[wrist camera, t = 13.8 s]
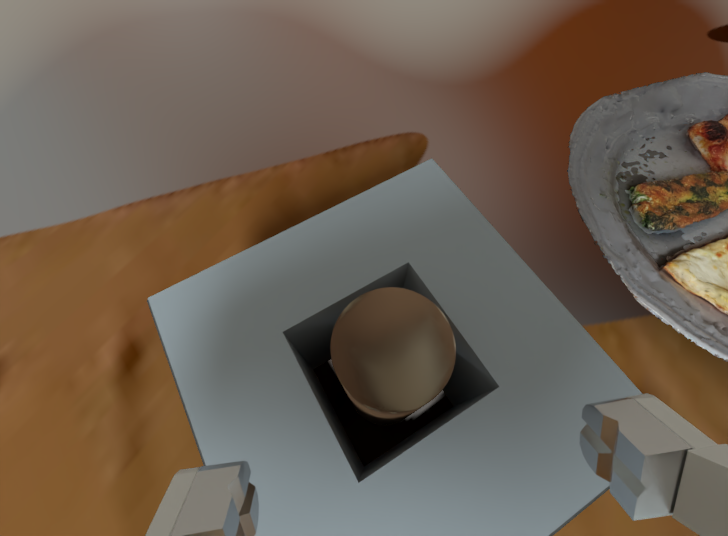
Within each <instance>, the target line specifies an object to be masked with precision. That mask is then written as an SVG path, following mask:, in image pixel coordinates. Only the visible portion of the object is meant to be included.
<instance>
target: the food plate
mask: <svg viewBox="0 0 728 536" xmlns="http://www.w3.org/2000/svg"><path fill="white" fill-rule="evenodd" d="M570 138H571V139H570V141H569V148H570V151H571V152H570V153H571V154H570V156H569V168H568V170H567V172H568V174H569V175H568V176H569V184H570V185H571V187H572V192H573V194H572V195H573V196H574V198H575V201H576V205H577V207H578V208H579V209H578V212H579V214H580V215H581V217H582V220H583V221H584V223H586V226H587V227H588V229H589V231H590V233H591V235H592V237H593V239H594V241H598V243H597V245H599V246H600V250H601V251H602V252H603V253H604V254H605V257H604V255H603V257H604V258H606V259H608V263H610V264H611V265H612V268H613V269H614V270H615V273H616V274H618V275H620V277H621V280H622V281H623V283H625V285H626V286H627V288H628V290H629V291H630V292H631V294H633V297H634V298H635V299H636V300H637V301H638V302H639V304H640V305H642V306H643V307H644V308H645V309H647V310H648V311H650V312H652V314H654V315H656V317H657V318H658V319H661V321H663V322H664V323H666V324H668V325H669V324H670V325H672V327H673V328H675V330H676V331H677V332H678V333H682V334H683V335H685V337H687V339H691V340H692V341H691V342H695V343H696V344H697V345H698V346H700V347H703V349H707V350H708V352H710V353H712V354H713V355H714V356H717V357H718V358H723V359H724V360H725V361H728V76H725V75H715V74H711V73H706V72H704V73H698V74H697V73H696V75H693V74H692V75H689V76H687V77H685V76H683V77H681V78H677V79H672V80H668V81H664V82H663V83H662V82H660V83H659V82H658V83H654V84H651V85H648V86H647V87H646V86H643V87H640V88H639V87H637V88H634V89H632V90H628V91H624V92H621V95H620V94H614V95H613V96H611V95H609V96H604V97H603V98H601V99H600V100H598V101H597V102H595V103H594V104H592V105H591V106H590V107H588V108H587V109H586V111H585V112H583V113H582V114H581V115H580V117H579V118H578V120H577V121H576V123H575V125H574V128H573V131H572V133H571V134H570Z"/></svg>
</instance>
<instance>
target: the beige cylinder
mask: <svg viewBox="0 0 728 536" xmlns="http://www.w3.org/2000/svg"><path fill="white" fill-rule="evenodd" d="M330 348H331V359H332V364H333V367H334V370H335V372H336V374H337V377H338V379H339V381H340V382H341V384H342V386H343V388H344V390H345V392H346V393H347V395H348V397H349V399H350V401H351V403H352V404H353V406H354V408H355V409H356V411H357V412H358V413H359V414H360V415H361V416H362V417H363V418H364V419H366V420H367V421H369V422H371V423H374V424H378V425H392V424H395V423H398V422H400V421H402V420H403V419H405V418H406V417H408V416H409V415H411V414H412V413H414V412H415V411H417V410H418V409H420V408H421V407H422V406H424V405H425V404H427V403H428V402H430V401H431V400H432V399H434V398H435V397H436V396H437V395H438V394H439V393H440V392H441V391H442V390H443V388H444V387H445V386H446V384H447V383H448V381H449V379H450V377H451V374H452V372H453V369H454V364H455V359H456V344H455V338H454V334H453V331H452V328H451V326H450V324H449V322H448V320H447V318H446V317H445V315H444V314H443V313H442V311H441V310H440V309H439V308H438V307H437V306H436V305H435V304H434V303H433V302H432V301H430V300H429V299H428V298H426V297H424V296H423V295H421V294H419V293H417V292H414V291H411V290H408V289H404V288H398V287H386V288H379V289H375V290H372V291H369V292H366V293H364V294H362V295H360V296H359V297H357V298H356V299H354V300H353V301H352V302H351V303H350V304H348V306H347V307H346V308H345V309H344V310H343V311H342V313H341V314H340V316H339V317H338V319H337V321H336V323H335V326H334V329H333V332H332V337H331V345H330Z"/></svg>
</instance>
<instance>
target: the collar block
mask: <svg viewBox="0 0 728 536" xmlns="http://www.w3.org/2000/svg"><path fill="white" fill-rule="evenodd" d="M386 287H398V288H404V289H408V290H411V291H414V292H417V293H419V294H421V295H423V296H424V297H426V298H428V299H429V300H430V301H432V302H433V303H434V304H435V305H436V306H437V307H438V308H439V309H440V310H441V311H442V313H443V314H444V315H445V317H446V318H447V320H448V322H449V324H450V326H451V328H452V331H453V334H454V338H455V344H456V359H455V364H454V369H453V372H452V374H451V377H450V379H449V381H448V383H447V384H446V386H445V387H444V388H443V391H444V393H445V394H446V396H447V397H448V399H449V400H450V402H451V403H452V405H453V407H452V408H450V409H449V410H447V411H446V412H444V413H443V414H441V415H440V416H438V417H437V418H435V419H434V420H432V421H431V422H430V423H428V424H427V425H425V426H424V427H422V428H421V429H419V430H418V431H416V432H415V433H413V434H412V435H410V436H409V437H407V438H406V439H404V440H403V441H401V442H400V443H398V444H397V445H395V446H394V447H393V448H391V449H390V450H388V451H387V452H385V453H384V454H382V455H381V456H379V457H378V458H376V459H375V460H373V461H372V462H370V463H369V464H367V465H366V466H363V464H362V462H361V460H360V459H359V457H358V455H357V453H356V451H355V449H354V447H353V445H352V443H351V441H350V439H349V437H348V435H347V433H346V432H345V430H344V428H343V426H342V424H341V422H340V420H339V418H338V416H337V414H336V412H335V410H334V408H333V406H332V405H331V403H330V401H329V399H328V397H327V395H326V393H325V391H324V389H323V387H322V385H321V383H320V381H319V379H318V378H317V376H316V374H315V372H314V370H313V369H315V368H317V367H318V366H320V365H322V364H323V363H325V362H327V361H328V360H330V359H331V348H330V345H331V337H332V332H333V329H334V326H335V323H336V321H337V319H338V317H339V316H340V314H341V313H342V311H343V310H344V309H345V308H346V307H347V306H348V304H350V303H351V302H352V301H353V300H354V299H356V298H357V297H359V296H360V295H362V294H364V293H366V292H369V291H372V290H375V289H379V288H386ZM147 302H148V305H149V308H150V311H151V314H152V317H153V319H154V322H155V325H156V328H157V331H158V334H159V337H160V340H161V343H162V346H163V348H164V351H165V354H166V357H167V360H168V363H169V366H170V369H171V372H172V375H173V377H174V380H175V383H176V386H177V389H178V392H179V395H180V398H181V401H182V404H183V406H184V409H185V412H186V415H187V418H188V421H189V424H190V427H191V430H192V433H193V435H194V438H195V441H196V444H197V447H198V450H199V453H200V456H201V459H202V462H203V464H204V466H208V465H216V464H223V463H230V462H238V461H247V462H248V464H249V467H250V470H251V475H250V479H249V482H250V483H251V484H253V485H254V486H255V487H256V490H257V494H258V501H259V519H258V525H257V531H256V534H255V535H254V536H553V535H554V534H555V533H556V532H558V531H559V530H560V529H561V528H563V527H564V526H565V525H566V524H567V523H569V522H570V521H571V520H572V519H573V518H575V517H576V516H577V515H578V514H579V513H581V512H582V511H583V510H584V509H586V508H587V507H588V506H589V505H590V504H592V503H593V502H594V501H595V500H596V499H598V498H599V497H600V496H601V495H602V494H604V493H605V492H606V491H607V490H608V489H610V485H609V482H608V481H607V480H605V479H603V478H601V477H599V476H598V475H596V474H595V473H594V472H593V470H592V469H591V468H590V466H589V465H588V463H587V462H586V460H585V458H584V456H583V454H582V450H581V447H580V443H579V442H580V432H581V430H582V429H583V428H584V427H585V425H586V424H587V423H586V422H585V421H584V420H583V419H582V409H583V408H584V406H585V405H586V404H590V403H596V402H601V401H607V400H613V399H618V398H626V397H630V396H635V395H641V394H642V393H641V392H640V391H639V390H638V388H637V387H636V386H635V385H634V384H633V383H632V382H631V381H630V379H629V378H628V377H627V376H626V375H625V374H624V373H623V372H622V371H621V369H620V368H619V367H618V366H617V365H616V364H615V363H614V362H613V360H612V359H611V358H610V357H609V356H608V355H607V354H606V353H605V351H604V350H603V349H602V348H601V347H600V346H599V345H598V344H597V343H596V341H595V340H594V339H593V338H592V337H591V336H590V335H589V334H588V332H587V331H586V330H585V329H584V328H583V327H582V326H581V325H580V323H579V322H578V321H577V320H576V319H575V318H574V317H573V316H572V315H571V313H570V312H569V311H568V310H567V309H566V308H565V307H564V306H563V304H562V303H561V302H560V301H559V300H558V299H557V298H556V297H555V295H554V294H553V293H552V292H551V291H550V290H549V289H548V288H547V287H546V285H545V284H544V283H543V282H542V281H541V280H540V279H539V278H538V277H537V276H536V274H535V273H534V272H533V271H532V270H531V269H530V267H528V265H527V264H526V263H525V262H524V261H523V260H522V259H521V258H520V256H519V255H518V254H517V253H516V252H515V251H514V250H513V248H512V247H511V246H510V245H509V244H508V243H507V242H506V241H505V240H504V238H503V237H502V236H501V235H500V234H499V233H498V232H497V231H496V230H495V228H494V227H493V226H492V225H491V224H490V223H489V222H488V220H487V219H486V218H485V217H484V216H483V215H482V214H481V213H480V211H478V209H477V208H476V207H475V206H474V205H473V204H472V203H471V201H470V200H469V199H468V198H467V197H466V196H465V195H464V194H463V192H462V191H461V190H460V189H459V188H458V187H457V186H456V185H455V183H454V182H453V181H452V180H451V179H450V178H449V177H448V176H447V175H446V173H445V172H444V171H443V170H442V169H441V168H440V167H439V166H438V165H437V163H436V162H435V161H434V160H433V159H430V160H428V161H425V162H424V163H421V164H419V165H417V166H415V167H413V168H411V169H409V170H407V171H405V172H403V173H401V174H399V175H397V176H395V177H393V178H391V179H389V180H387V181H385V182H383V183H381V184H379V185H377V186H375V187H373V188H371V189H369V190H366V191H364V192H362V193H360V194H358V195H356V196H354V197H352V198H350V199H348V200H346V201H344V202H342V203H340V204H338V205H336V206H334V207H332V208H330V209H328V210H326V211H324V212H322V213H320V214H318V215H316V216H314V217H312V218H310V219H307V220H305V221H303V222H301V223H299V224H297V225H295V226H293V227H291V228H289V229H287V230H285V231H283V232H281V233H279V234H277V235H275V236H273V237H271V238H269V239H267V240H265V241H263V242H261V243H259V244H257V245H255V246H253V247H251V248H248V249H246V250H244V251H242V252H240V253H238V254H236V255H234V256H232V257H230V258H228V259H226V260H224V261H222V262H220V263H218V264H216V265H214V266H212V267H210V268H208V269H206V270H204V271H202V272H200V273H198V274H196V275H194V276H192V277H189V278H187V279H185V280H183V281H181V282H179V283H177V284H175V285H173V286H171V287H169V288H167V289H165V290H163V291H161V292H159V293H157V294H155V295H153V296H151V297H149V298H148V300H147Z"/></svg>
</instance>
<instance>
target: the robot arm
mask: <svg viewBox="0 0 728 536" xmlns="http://www.w3.org/2000/svg"><path fill="white" fill-rule="evenodd" d="M582 419H583V420H584V421H585V422H586V423H587V424H586V425H585V427H584V428H583V429H582V430H581V432H580V442H579V443H580V447H581V450H582V454H583V456H584V458H585V460H586V462H587V463H588V465H589V466H590V468H591V469H592V470H593V472H594V473H595V474H596V475H598V476H599V477H601V478H603V479H605V480H607V481H608V482H609V485H610V493H611V494H612V495H613V496H614V498H615V499H616V500H617V501H618V503H619V504H620V505H621V506H622V507H623V509H624V510H625V511H626V512H627V514H628V515H629V516H630V517H631V519H632V520H633V521H634V520H641V519H647V518H654V517H661V516H668V515H673V516H672V517H673V518H674V519H676V520H677V521H679V522H680V523H682V524H683V525H685V526H686V527H688V528H689V529H691V530H692V531H694V532H696V533H697V534H699V535H700V536H728V445H727V444H721V445H718V444H716V443H715V442H714V441H712V440H711V439H710V438H709V437H707V436H706V435H705V434H703V433H702V432H701V431H699V430H698V429H697V428H696V427H694V426H693V425H692V424H690V423H689V422H688V421H686V420H685V419H684V418H682V417H681V416H680V415H679V414H677V413H676V412H675V411H673V410H672V409H671V408H669V407H668V406H667V405H666V404H664V403H663V402H662V401H660V400H659V399H658V398H656V397H655V396H653V395H650V394H641V395H635V396H630V397H626V398H618V399H613V400H607V401H601V402H596V403H590V404H586V405H585V406H584V408H583V409H582ZM250 475H251V470H250V467H249V464H248V462H247V461H238V462H230V463H223V464H216V465H208V466H202V467H197V468H190V469H182V470H179V471H178V472H177V473H176V474H175V475H174V477H173V479H172V481H171V483H170V485H169V487H168V489H167V491H166V493H165V495H164V497H163V499H162V501H161V504H160V506H159V508H158V510H157V512H156V514H155V516H154V518H153V520H152V522H151V524H150V526H149V529H148V531H147V533H146V535H145V536H254V535H255V534H256V531H257V525H258V519H259V501H258V494H257V490H256V487H255V486H254V485H253V484H251V483H250V482H249V479H250Z"/></svg>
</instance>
